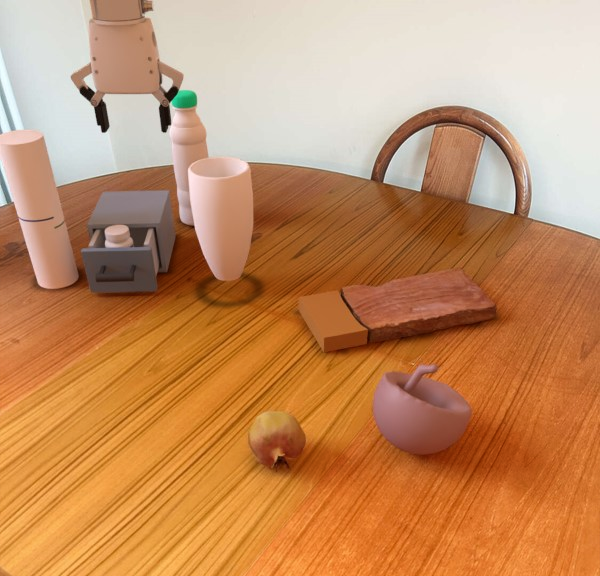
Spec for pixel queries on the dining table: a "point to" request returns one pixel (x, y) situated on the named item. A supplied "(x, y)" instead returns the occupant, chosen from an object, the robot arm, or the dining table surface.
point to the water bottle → (186, 147)
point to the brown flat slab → (395, 309)
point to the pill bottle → (118, 237)
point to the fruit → (276, 439)
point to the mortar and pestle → (419, 411)
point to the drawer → (123, 263)
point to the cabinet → (138, 216)
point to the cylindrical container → (38, 207)
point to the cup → (222, 213)
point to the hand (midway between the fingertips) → (135, 130)
